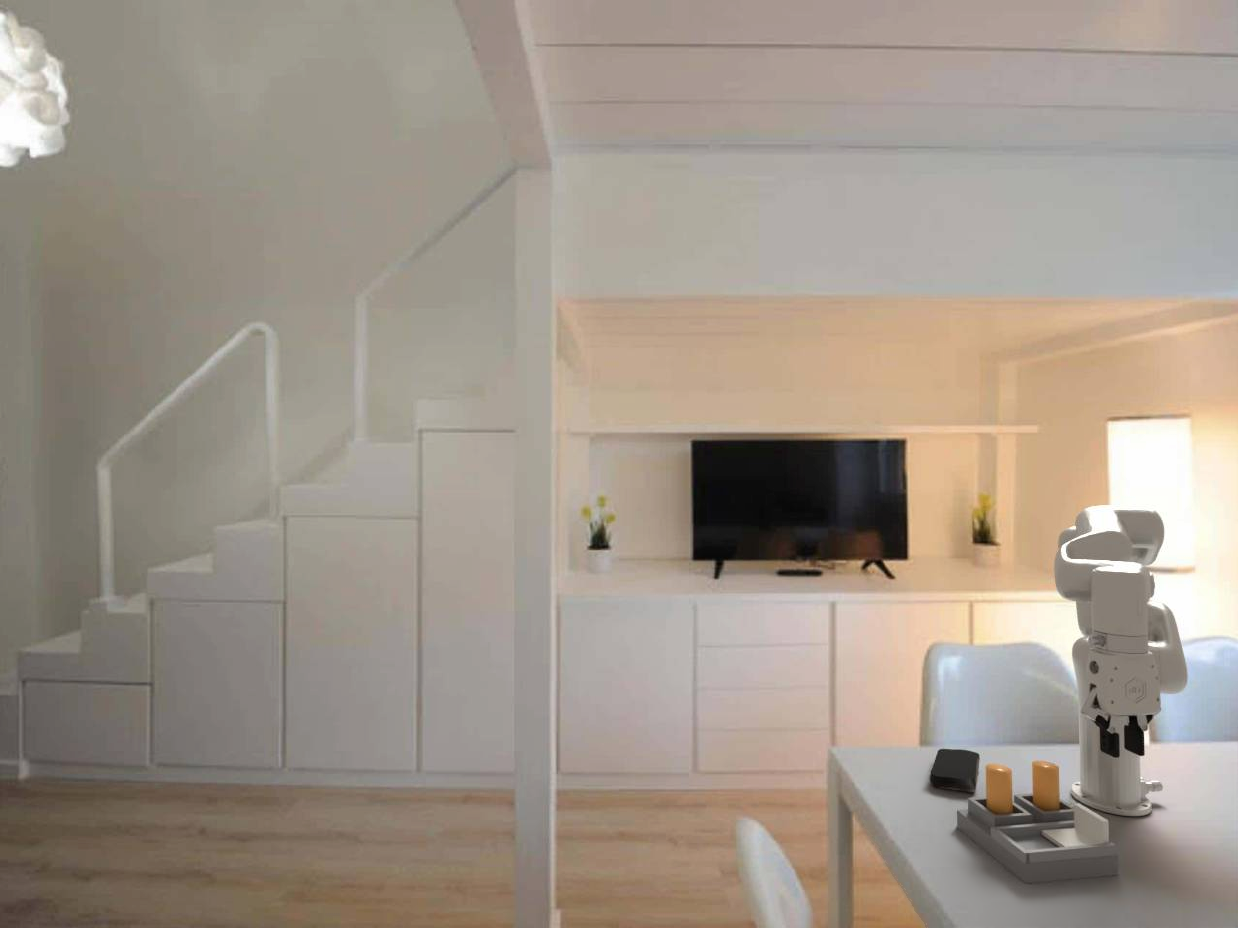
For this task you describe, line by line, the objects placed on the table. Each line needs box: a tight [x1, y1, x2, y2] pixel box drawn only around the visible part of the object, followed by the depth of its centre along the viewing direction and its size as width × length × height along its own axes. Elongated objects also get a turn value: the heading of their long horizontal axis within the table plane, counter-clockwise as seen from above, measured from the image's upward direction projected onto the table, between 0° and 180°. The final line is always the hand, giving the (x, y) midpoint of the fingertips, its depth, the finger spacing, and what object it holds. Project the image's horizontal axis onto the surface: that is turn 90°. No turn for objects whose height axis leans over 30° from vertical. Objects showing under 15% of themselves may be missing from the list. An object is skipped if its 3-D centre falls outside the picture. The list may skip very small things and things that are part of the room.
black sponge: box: [929, 748, 980, 793], centre depth 141 cm, size 16×8×4 cm, turn 149°
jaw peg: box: [985, 763, 1014, 815], centre depth 117 cm, size 4×4×9 cm
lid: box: [1042, 802, 1110, 847], centre depth 110 cm, size 7×6×5 cm
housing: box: [956, 760, 1119, 884], centre depth 114 cm, size 18×17×12 cm
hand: (1122, 752), depth 111 cm, fingers open, 3 cm apart
